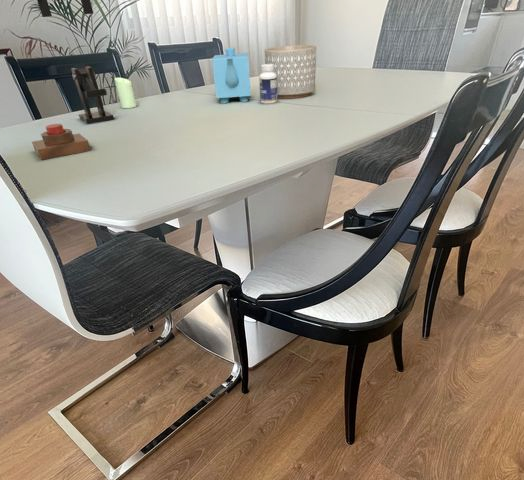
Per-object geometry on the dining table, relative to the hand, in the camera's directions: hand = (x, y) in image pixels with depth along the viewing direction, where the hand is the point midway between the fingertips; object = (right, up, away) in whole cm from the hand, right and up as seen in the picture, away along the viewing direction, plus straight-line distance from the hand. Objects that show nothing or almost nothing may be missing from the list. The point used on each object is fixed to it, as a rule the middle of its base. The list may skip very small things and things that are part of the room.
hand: (69, 15), depth 101 cm
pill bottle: (+53, -9, +22) cm, 58 cm away
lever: (+2, -13, +9) cm, 16 cm away
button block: (+3, -41, -10) cm, 42 cm away
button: (+3, -38, -12) cm, 40 cm away
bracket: (0, -17, +17) cm, 24 cm away
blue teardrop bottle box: (+41, -4, +28) cm, 50 cm away
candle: (+5, -5, +30) cm, 31 cm away
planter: (+60, -1, +30) cm, 67 cm away
